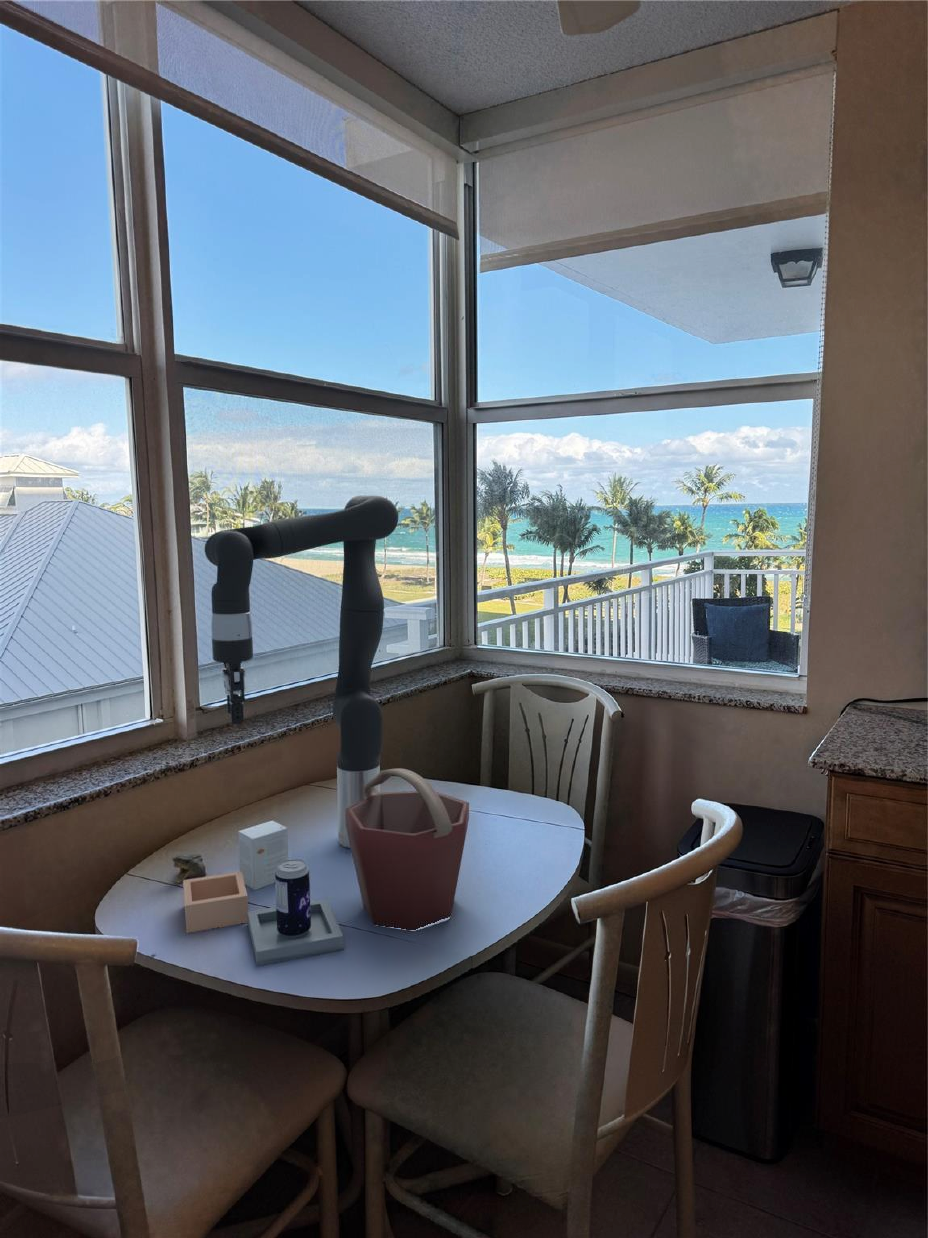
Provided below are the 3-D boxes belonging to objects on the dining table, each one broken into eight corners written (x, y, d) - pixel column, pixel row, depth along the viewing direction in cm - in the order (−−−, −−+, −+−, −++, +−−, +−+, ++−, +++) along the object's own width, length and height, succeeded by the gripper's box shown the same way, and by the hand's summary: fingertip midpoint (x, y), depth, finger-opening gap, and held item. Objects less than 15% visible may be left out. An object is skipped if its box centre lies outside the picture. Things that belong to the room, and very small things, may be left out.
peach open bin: (242, 896, 155) (241, 871, 154) (248, 922, 145) (247, 895, 144) (184, 906, 151) (183, 880, 150) (186, 933, 141) (185, 905, 141)
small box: (274, 869, 166) (273, 819, 165) (290, 878, 163) (288, 827, 161) (239, 882, 161) (237, 830, 160) (253, 891, 157) (251, 838, 156)
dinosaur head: (184, 894, 158) (185, 863, 156) (157, 884, 160) (158, 853, 158) (211, 873, 165) (212, 844, 163) (185, 864, 167) (186, 834, 165)
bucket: (338, 888, 158) (335, 763, 155) (446, 870, 166) (446, 750, 162) (370, 952, 135) (368, 806, 132) (494, 927, 143) (494, 789, 140)
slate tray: (327, 911, 149) (326, 898, 149) (343, 949, 136) (343, 936, 136) (247, 924, 144) (247, 912, 144) (257, 966, 131) (256, 952, 131)
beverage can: (303, 942, 137) (301, 874, 135) (271, 938, 138) (269, 871, 136) (316, 925, 142) (314, 859, 141) (285, 922, 143) (283, 856, 142)
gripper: (256, 640, 152) (259, 725, 154) (248, 629, 165) (251, 708, 168) (214, 642, 150) (218, 729, 152) (209, 631, 163) (212, 711, 165)
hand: (235, 718), depth 160 cm, fingers open, 8 cm apart
